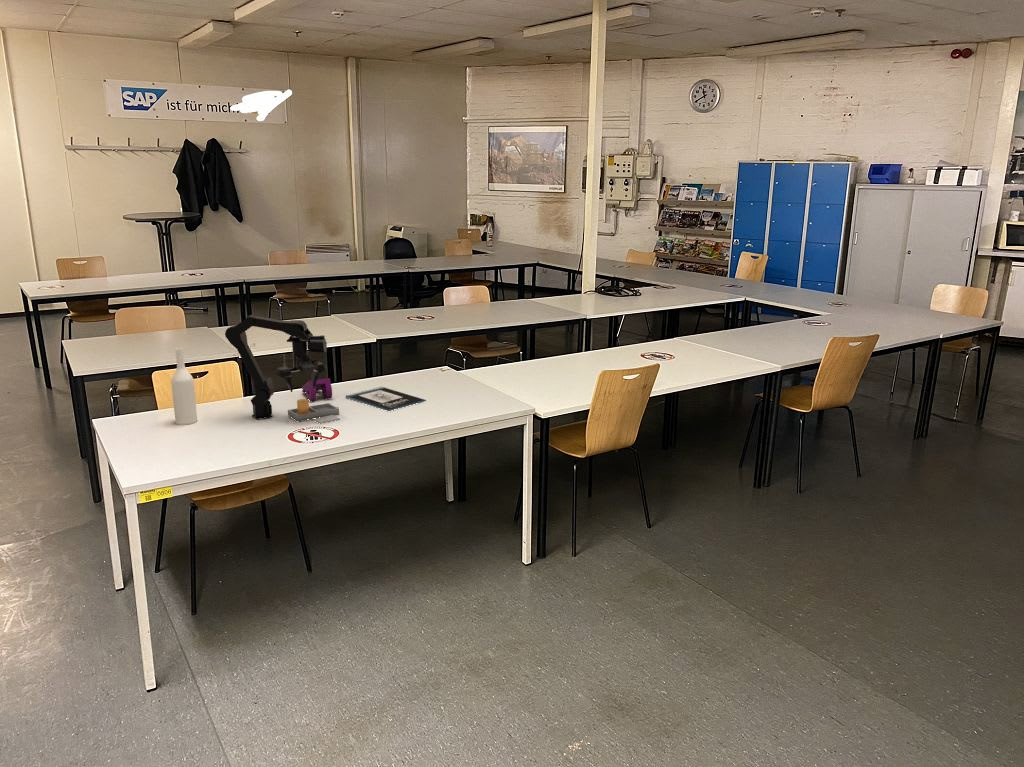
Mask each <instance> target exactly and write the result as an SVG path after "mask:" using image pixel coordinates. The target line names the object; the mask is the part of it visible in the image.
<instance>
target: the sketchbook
mask: <svg viewBox="0 0 1024 767" xmlns="http://www.w3.org/2000/svg"><path fill="white" fill-rule="evenodd" d="M346 398H347V399H346ZM345 399H346V400H349V399H350V400H349V401H352V400H353V401H352V402H355V401H356V403H359V402H360V403H359V404H362V403H364V404H363V405H365V404H367V405H366V406H368V405H370V406H369V407H372V406H373V407H372V408H375V407H376V408H375V409H378V408H380V409H379V410H381V409H383V410H382V411H384V410H387V411H386V412H388V411H390V412H392V411H391V410H393V411H395V410H394V409H397V410H399V409H398V408H401V409H403V408H402V407H404V408H407V407H406V406H408V407H410V406H409V405H411V406H414V405H413V404H415V405H417V404H416V403H418V404H422V403H425V402H424V401H426V402H427V399H424V398H421V397H418V396H415V395H411V394H408V393H406V392H405V393H403V392H401V391H397V390H394V389H391V388H389V387H384V386H379V387H375V388H371V389H366V390H362V391H358V392H354V393H349V394H346V395H345ZM421 402H422V403H421Z"/></svg>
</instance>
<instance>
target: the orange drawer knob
mask: <svg viewBox="0 0 1024 767" xmlns="http://www.w3.org/2000/svg"><path fill="white" fill-rule="evenodd" d="M309 402H310V401H309V400H308V399H307V398H299V399H297V400H296V408H297V409H298V412H297V415H302V414H308V413H310V412H309V406H310V405H309V404H310V403H309Z"/></svg>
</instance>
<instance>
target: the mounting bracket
mask: <svg viewBox="0 0 1024 767" xmlns="http://www.w3.org/2000/svg"><path fill="white" fill-rule="evenodd" d="M302 389H303V390H302ZM319 391H321V394H322V397H323V399H324V398H325V399H324V400H329V399H330V400H331V399H332V397H333V388H332V382H331V378H322V379H321V378H320V379H317V381H316V384H315V388H312V381H311V380H308V381H307V382H306V383H305V384H304V385H302V386H301V392H302V393H304V394H306V399H309V400H310V401H309V400H308V401H309V402H314V400H315V401H317V392H319ZM305 392H306V393H305Z"/></svg>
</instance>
